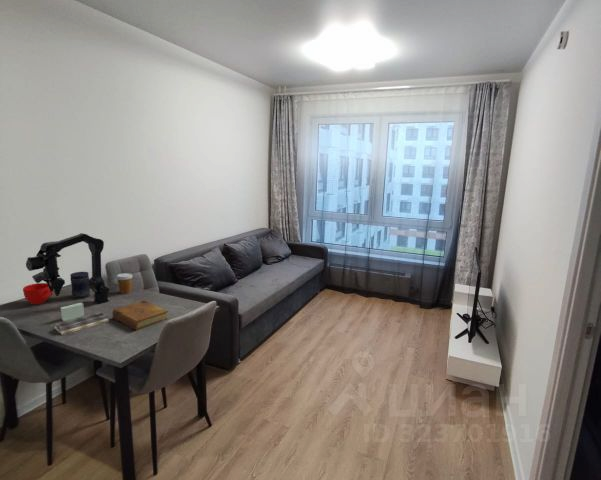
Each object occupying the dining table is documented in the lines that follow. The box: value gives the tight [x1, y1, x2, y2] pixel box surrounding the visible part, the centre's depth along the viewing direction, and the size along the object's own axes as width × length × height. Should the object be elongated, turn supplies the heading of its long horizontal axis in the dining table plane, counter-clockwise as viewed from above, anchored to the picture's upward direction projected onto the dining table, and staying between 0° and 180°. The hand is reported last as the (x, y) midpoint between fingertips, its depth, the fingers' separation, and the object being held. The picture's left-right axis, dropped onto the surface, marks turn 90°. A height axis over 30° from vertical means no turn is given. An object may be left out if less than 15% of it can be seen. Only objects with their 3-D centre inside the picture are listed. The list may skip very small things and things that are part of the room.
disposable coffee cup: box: [116, 272, 134, 295], centre depth 232 cm, size 10×10×12 cm
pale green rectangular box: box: [60, 302, 85, 322], centre depth 192 cm, size 10×3×7 cm, turn 141°
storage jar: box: [69, 271, 91, 300], centre depth 221 cm, size 10×10×15 cm
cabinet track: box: [54, 311, 109, 336], centre depth 185 cm, size 22×10×3 cm, turn 141°
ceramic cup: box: [22, 282, 54, 305], centre depth 210 cm, size 13×17×10 cm
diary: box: [111, 300, 169, 331], centre depth 195 cm, size 23×19×6 cm
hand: (54, 293), depth 192 cm, fingers open, 9 cm apart
